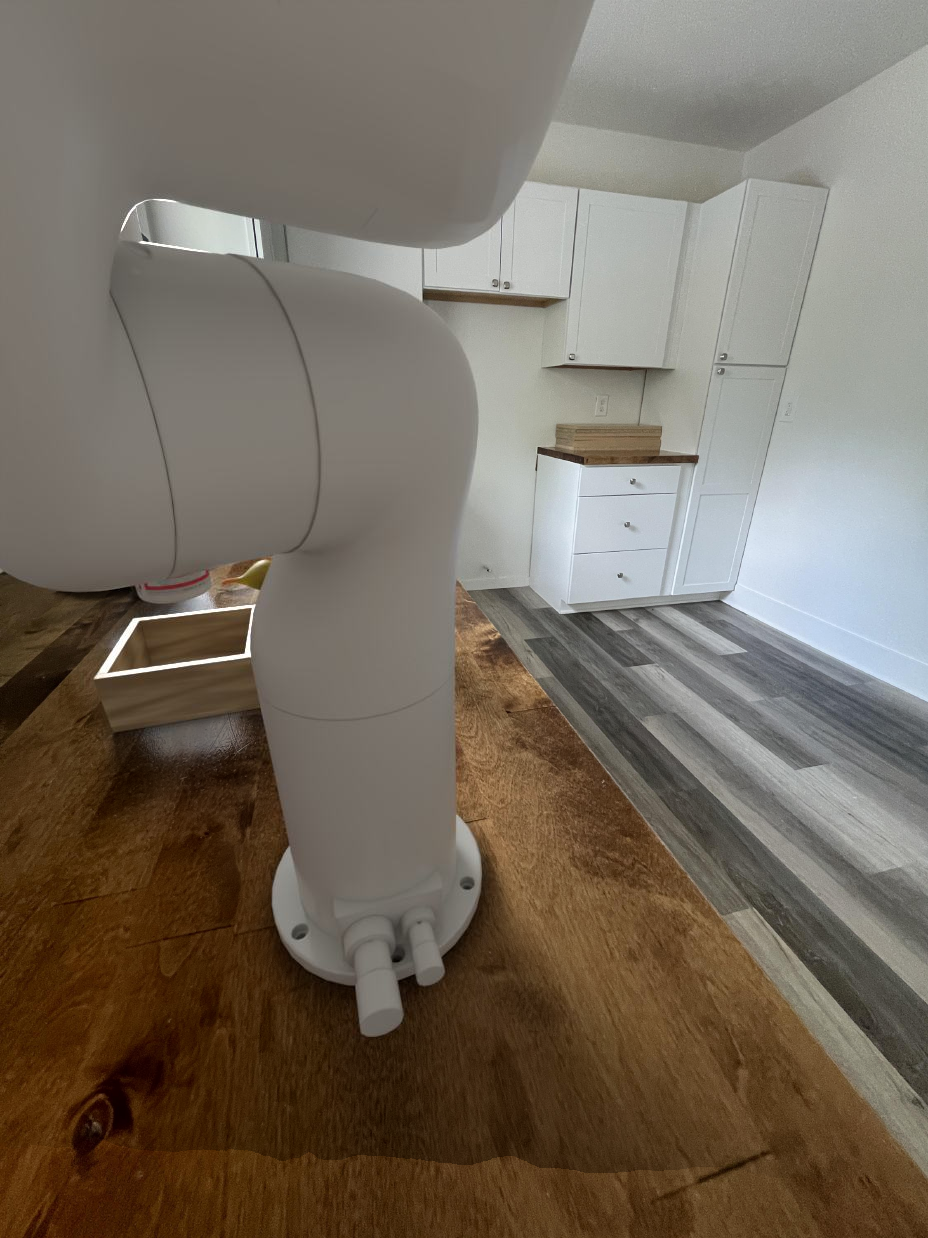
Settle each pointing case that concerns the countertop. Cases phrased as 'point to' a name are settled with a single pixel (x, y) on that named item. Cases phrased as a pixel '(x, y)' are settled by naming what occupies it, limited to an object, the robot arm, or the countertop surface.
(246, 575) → the neti pot
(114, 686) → the holder
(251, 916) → the countertop surface
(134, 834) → the countertop surface
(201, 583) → the pill bottle
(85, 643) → the countertop surface
